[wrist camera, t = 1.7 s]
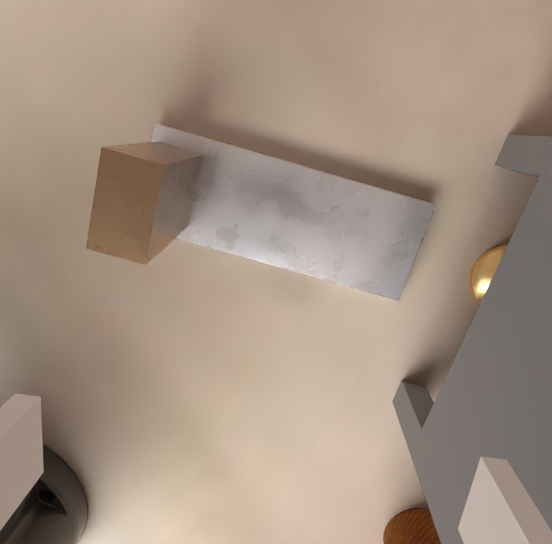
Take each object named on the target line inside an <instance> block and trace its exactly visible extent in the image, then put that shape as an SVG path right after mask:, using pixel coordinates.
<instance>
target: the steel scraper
mask: <svg viewBox="0 0 552 544" xmlns="http://www.w3.org/2000/svg"><path fill="white" fill-rule="evenodd" d="M435 206H436V205H434V204H433V203H431V202H428V201H424V200H421V199H418V198H414V197H411V196H407V195H404V194H400V193H397V192H393V191H390V190H387V189H383V188H380V187H376V186H373V185H369V184H366V183H362V182H359V181H355V180H352V179H349V178H345V177H342V176H338V175H335V174H331V173H328V172H324V171H321V170H317V169H314V168H311V167H307V166H304V165H300V164H297V163H293V162H290V161H286V160H283V159H279V158H276V157H273V156H269V155H266V154H262V153H259V152H255V151H252V150H248V149H245V148H242V147H238V146H235V145H231V144H228V143H224V142H221V141H217V140H214V139H210V138H207V137H204V136H200V135H197V134H193V133H190V132H186V131H183V130H179V129H176V128H172V127H169V126H166V125H162V124H154V128H153V133H152V138H151V142H149V143H139V144H128V145H118V146H108V147H102V148H101V155H100V161H99V168H98V174H97V181H96V188H95V194H94V201H93V207H92V214H91V220H90V227H89V233H88V240H87V246H86V248H87V249H91V250H94V251H98V252H101V253H105V254H109V255H112V256H116V257H119V258H123V259H127V260H130V261H134V262H137V263H141V264H145V265H146V264H147V263H148V262H149V261H150V260H151V259H152V258H153V257H155V256H156V255H157V254H158V253H159V252H160V251H161V250H162V249H164V248H165V247H166V246H167V245H168V244H169V243H170V242H171V241H173V240H174V239H175V238H176V239H180V240H183V241H187V242H191V243H194V244H198V245H201V246H205V247H208V248H212V249H215V250H219V251H223V252H226V253H230V254H233V255H237V256H240V257H244V258H248V259H251V260H255V261H258V262H262V263H265V264H269V265H273V266H276V267H280V268H283V269H287V270H290V271H294V272H297V273H301V274H305V275H308V276H312V277H315V278H319V279H322V280H326V281H330V282H333V283H337V284H340V285H344V286H347V287H351V288H355V289H358V290H362V291H365V292H369V293H372V294H376V295H379V296H383V297H387V298H390V299H394V300H397V301H399V298H400V296H401V293H402V291H403V288H404V285H405V283H406V280H407V278H408V275H409V273H410V270H411V268H412V265H413V262H414V260H415V257H416V255H417V252H418V250H419V247H420V244H421V242H422V239H423V237H424V234H425V232H426V229H427V226H428V224H429V221H430V219H431V216H432V214H433V211H434V208H435Z"/></svg>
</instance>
